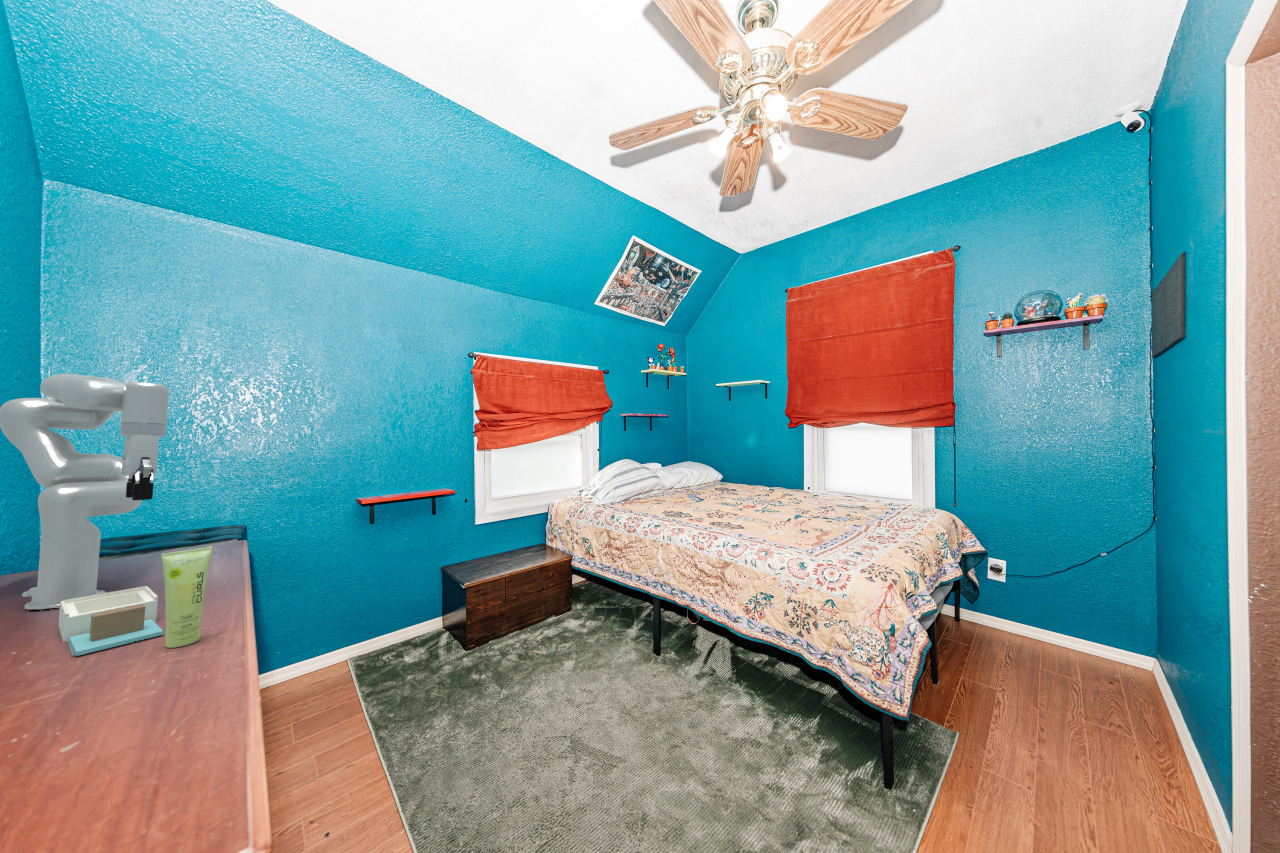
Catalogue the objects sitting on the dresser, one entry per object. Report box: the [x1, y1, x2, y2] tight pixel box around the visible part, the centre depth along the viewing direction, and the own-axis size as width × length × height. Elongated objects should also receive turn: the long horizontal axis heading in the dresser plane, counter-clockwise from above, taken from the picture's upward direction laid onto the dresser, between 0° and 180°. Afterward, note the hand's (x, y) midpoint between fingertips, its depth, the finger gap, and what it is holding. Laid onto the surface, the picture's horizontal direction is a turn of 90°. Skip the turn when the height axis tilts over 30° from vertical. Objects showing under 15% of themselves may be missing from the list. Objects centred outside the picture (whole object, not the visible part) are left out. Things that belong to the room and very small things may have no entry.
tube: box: [160, 546, 214, 649], centre depth 89 cm, size 6×5×20 cm
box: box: [57, 585, 159, 643], centre depth 98 cm, size 14×13×6 cm
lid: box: [69, 604, 164, 657], centre depth 90 cm, size 12×11×6 cm
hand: (138, 498), depth 106 cm, fingers open, 9 cm apart
